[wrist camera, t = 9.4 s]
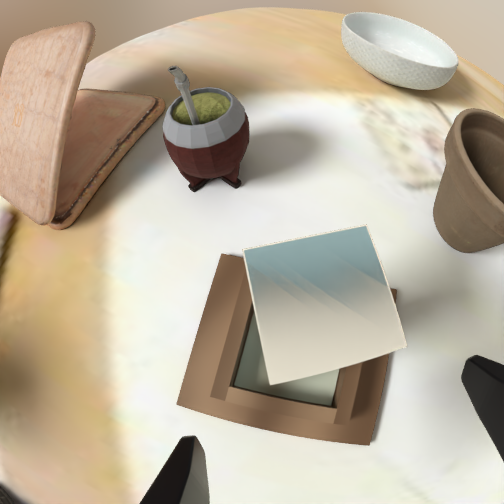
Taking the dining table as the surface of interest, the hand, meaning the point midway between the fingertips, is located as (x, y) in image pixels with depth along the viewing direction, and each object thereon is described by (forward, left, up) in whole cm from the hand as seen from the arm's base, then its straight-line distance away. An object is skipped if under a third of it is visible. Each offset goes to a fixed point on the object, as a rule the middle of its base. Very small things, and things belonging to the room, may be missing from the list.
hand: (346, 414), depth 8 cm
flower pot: (-12, -17, -13) cm, 25 cm away
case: (+33, -19, -13) cm, 40 cm away
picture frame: (+2, -3, -13) cm, 13 cm away
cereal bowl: (-6, -42, -13) cm, 45 cm away
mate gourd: (+12, -17, -13) cm, 25 cm away
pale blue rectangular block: (+2, -3, -12) cm, 13 cm away
